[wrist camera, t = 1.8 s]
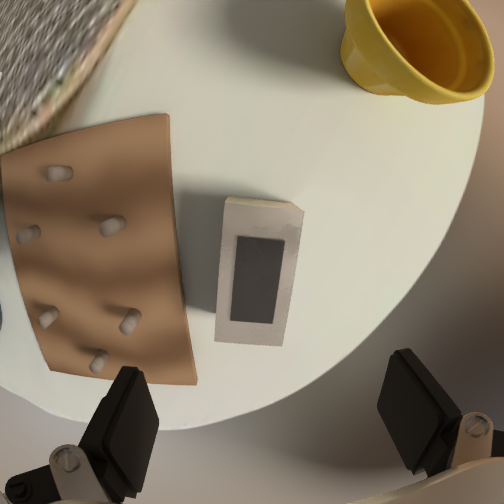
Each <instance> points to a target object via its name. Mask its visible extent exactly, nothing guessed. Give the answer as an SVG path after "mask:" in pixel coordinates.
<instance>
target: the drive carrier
mask: <svg viewBox="0 0 504 504" xmlns="http://www.w3.org/2000/svg"><path fill="white" fill-rule="evenodd" d="M303 216H304V211H303V210H302V209H301V208H299V207H298V206H296V205H295V204H293V203H288V202H279V201H271V200H261V199H252V198H242V197H231V196H228V197H227V199H226V201H225V204H224V215H223V226H222V238H221V250H220V263H219V277H218V291H217V306H216V322H215V340H214V341H216V342H227V343H238V344H252V345H268V346H282V344H283V338H284V333H285V328H286V322H287V317H288V311H289V306H290V300H291V294H292V288H293V282H294V276H295V270H296V264H297V257H298V251H299V244H300V237H301V231H302V224H303Z"/></svg>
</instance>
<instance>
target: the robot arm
mask: <svg viewBox="0 0 504 504" xmlns="http://www.w3.org/2000/svg"><path fill="white" fill-rule="evenodd" d="M377 409H378V412H379V414H380V416H381V418H382V419H383V422H384V423H385V426H386V428H387V429H388V432H389V433H390V436H391V438H392V439H393V442H394V443H395V446H396V448H397V450H398V452H399V454H400V456H401V458H402V460H403V462H404V464H405V466H406V468H407V469H408V470H411V471H412V473H413V475H416V474H419V473H421V472H424V471H426V473H427V478H426V479H424V480H422V481H419V482H416V483H414V484H411V485H408V486H405V487H402V488H400V489H397V490H394V491H391V492H388V493H384V494H382V495H378V496H374V497H371V498H367V499H364V500H360V501H355V502H351V503H347V504H504V432H502V431H498V430H493V424H492V422H491V420H490V419H489V418H488V417H487V416H485V415H484V414H481V413H469V414H467V415H465V416H464V417H463V416H462V415H461V411H460V410H459V409H458V407H457V406H456V404H455V403H454V402H453V401H452V399H451V398H450V397H449V396H448V394H447V393H446V392H445V391H444V389H443V388H442V387H441V386H440V384H439V383H438V382H437V381H436V380H435V378H434V377H433V376H432V374H431V373H430V372H429V371H428V370H427V368H426V367H425V366H424V365H423V363H422V362H421V361H420V360H419V359H418V358H417V356H416V355H415V354H414V353H413V352H412V350H411V349H409V348H405V349H401V350H396V351H395V352H394V354H393V355H391V356H390V359H389V364H388V368H387V371H386V375H385V379H384V382H383V386H382V389H381V393H380V396H379V399H378V403H377ZM158 427H159V418H158V415H157V412H156V410H155V407H154V404H153V401H152V398H151V395H150V392H149V389H148V386H147V382H146V379H145V376H144V373H143V371H139V369H138V367H133V366H122V367H121V369H120V371H119V373H118V374H117V376H116V378H115V380H114V382H113V384H112V385H111V387H110V389H109V391H108V393H107V395H106V396H105V397H103V398H102V400H101V401H100V403H99V405H98V407H97V409H96V411H95V413H94V415H93V417H92V419H91V421H90V423H89V425H88V427H87V429H86V431H85V433H84V435H83V437H82V439H81V441H80V443H79V445H78V446H75V445H69V444H66V445H62V446H59V447H57V448H56V449H55V450H54V451H53V452H52V453H51V455H50V458H49V465H46V466H43V467H40V468H37V469H35V470H32V471H28V472H25V473H22V474H19V475H16V476H13V477H11V478H10V479H9V480H8V482H7V483H6V487H5V493H2V492H1V491H0V504H123V501H124V499H125V497H130V498H136V494H137V492H141V491H142V487H143V483H144V479H145V475H146V472H147V468H148V464H149V460H150V456H151V453H152V449H153V445H154V442H155V438H156V434H157V431H158Z"/></svg>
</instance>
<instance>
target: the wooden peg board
mask: <svg viewBox="0 0 504 504" xmlns="http://www.w3.org/2000/svg"><path fill="white" fill-rule="evenodd" d="M1 175H2V189H3V200H4V209H5V217H6V224H7V230H8V236H9V242H10V247H11V252H12V257H13V261H14V266H15V270H16V274H17V278H18V282H19V286H20V289H21V293H22V296H23V300H24V303H25V306H26V309H27V312H28V315H29V318H30V321H31V324H32V327H33V330H34V333H35V335H36V338H37V340H38V343H39V346H40V348H41V351H42V353H43V355H44V358H45V360H46V362H47V365H48V367H49V369H50V370H51V371H56V372H61V373H67V374H73V375H79V376H85V377H92V378H100V379H108V380H115V378H116V376H117V374H118V373H119V371H120V369H121V367H122V366H133V367H138V369H139V371H143V373H144V376H145V379H146V382H147V383H150V384H168V385H197V374H196V368H195V363H194V357H193V352H192V346H191V340H190V334H189V328H188V321H187V315H186V308H185V301H184V294H183V286H182V279H181V271H180V262H179V253H178V244H177V234H176V224H175V212H174V200H173V186H172V170H171V150H170V119H169V115H168V114H167V113H164V114H157V115H151V116H144V117H138V118H133V119H127V120H122V121H117V122H112V123H107V124H103V125H98V126H94V127H90V128H86V129H82V130H78V131H74V132H70V133H66V134H63V135H59V136H56V137H52V138H49V139H46V140H43V141H40V142H37V143H33V144H30V145H28V146H25V147H22V148H19V149H16V150H14V151H11V152H8V153H6V154H3V155H1Z"/></svg>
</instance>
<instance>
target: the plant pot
mask: <svg viewBox="0 0 504 504" xmlns="http://www.w3.org/2000/svg"><path fill="white" fill-rule="evenodd" d="M344 14H345V22H346V30H345V33H344V36H343V39H342V43H341V47H340V55H341V60H342V63H343V65H344V67H345V69H346V71H347V73H348V74H349V76H350V77H351V78H352V79H353V80H354V81H355V82H356V83H357V84H358V85H359V86H361V87H362V88H364V89H366V90H367V91H369V92H372V93H374V94H378V95H385V96H387V95H398V96H407V97H409V98H411V99H413V100H416V101H419V102H422V103H426V104H433V105H440V104H450V103H457V102H463V101H469V100H472V99H475V98H478V97H480V96H481V95H482V94H484V93H485V92H486V91H487V90H488V88H489V86H490V85H491V82H492V79H493V75H494V66H495V64H494V54H493V49H492V45H491V42H490V39H489V36H488V33H487V31H486V29H485V27H484V25H483V23H482V21H481V19H480V17H479V16H478V14H477V13H476V11H475V10H474V9H473V7H472V6H471V5H470V3H469V2H468V1H467V0H346V3H345V11H344Z"/></svg>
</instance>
